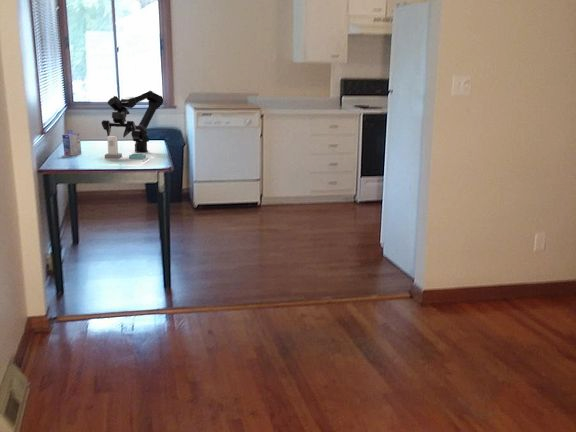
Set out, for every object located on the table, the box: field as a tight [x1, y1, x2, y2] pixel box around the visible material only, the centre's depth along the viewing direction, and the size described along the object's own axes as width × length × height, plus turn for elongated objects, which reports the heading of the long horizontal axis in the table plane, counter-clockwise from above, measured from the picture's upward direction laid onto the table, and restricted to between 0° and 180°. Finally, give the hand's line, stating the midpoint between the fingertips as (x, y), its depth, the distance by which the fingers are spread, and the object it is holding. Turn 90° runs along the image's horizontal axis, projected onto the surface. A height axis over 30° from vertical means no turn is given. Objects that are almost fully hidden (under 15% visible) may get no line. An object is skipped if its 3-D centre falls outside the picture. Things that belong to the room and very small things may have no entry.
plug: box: [107, 135, 119, 155], centre depth 349 cm, size 5×4×12 cm
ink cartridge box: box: [61, 129, 82, 157], centre depth 363 cm, size 10×6×14 cm, turn 161°
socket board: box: [101, 152, 150, 163], centre depth 350 cm, size 24×12×3 cm, turn 87°
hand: (115, 136), depth 354 cm, fingers open, 9 cm apart
